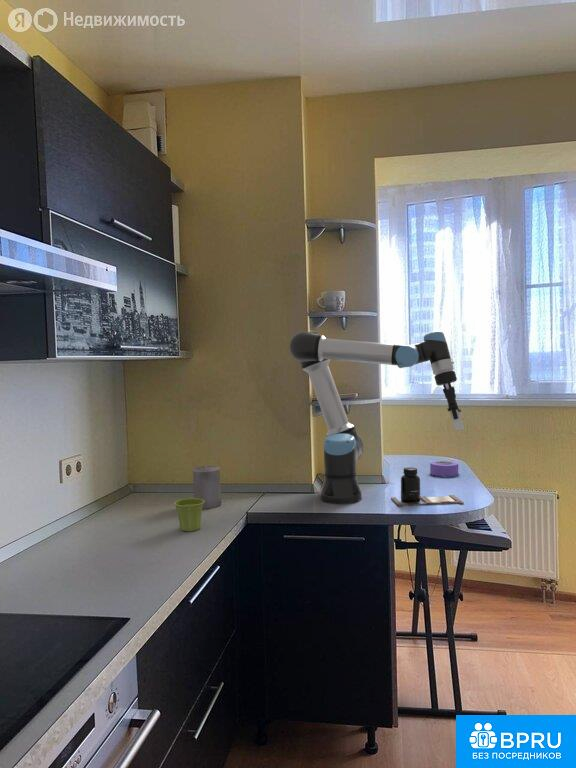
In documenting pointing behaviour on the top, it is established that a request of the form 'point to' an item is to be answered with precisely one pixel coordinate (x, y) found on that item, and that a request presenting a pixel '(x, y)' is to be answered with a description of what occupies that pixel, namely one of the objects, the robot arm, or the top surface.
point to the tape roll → (444, 468)
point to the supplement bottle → (410, 486)
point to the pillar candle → (207, 485)
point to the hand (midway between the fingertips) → (459, 429)
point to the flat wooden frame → (431, 501)
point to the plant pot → (189, 513)
